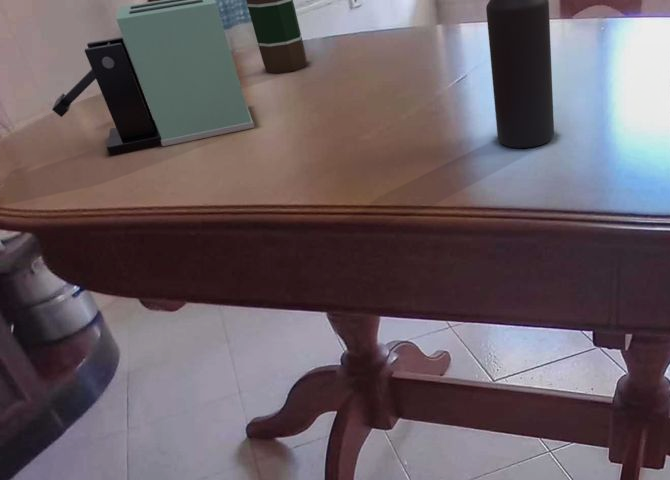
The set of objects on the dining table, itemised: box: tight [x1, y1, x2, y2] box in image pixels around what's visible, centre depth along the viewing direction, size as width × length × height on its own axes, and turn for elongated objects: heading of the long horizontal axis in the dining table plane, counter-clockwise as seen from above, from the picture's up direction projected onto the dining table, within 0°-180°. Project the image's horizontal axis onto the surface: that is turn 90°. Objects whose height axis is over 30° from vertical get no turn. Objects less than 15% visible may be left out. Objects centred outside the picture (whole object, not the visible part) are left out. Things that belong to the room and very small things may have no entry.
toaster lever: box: [51, 42, 111, 118], centre depth 92 cm, size 11×5×2 cm
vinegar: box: [485, 0, 555, 149], centre depth 78 cm, size 7×7×20 cm
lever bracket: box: [84, 36, 162, 157], centre depth 95 cm, size 8×9×13 cm
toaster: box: [115, 0, 255, 147], centre depth 96 cm, size 12×10×16 cm
